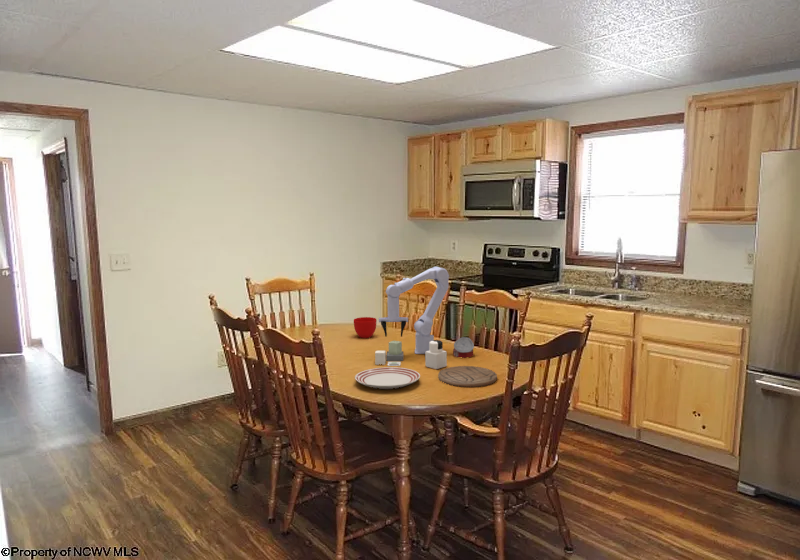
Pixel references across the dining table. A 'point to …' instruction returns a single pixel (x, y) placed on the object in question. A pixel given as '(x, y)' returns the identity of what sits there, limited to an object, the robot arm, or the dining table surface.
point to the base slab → (394, 357)
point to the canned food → (463, 347)
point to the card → (394, 363)
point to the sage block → (395, 347)
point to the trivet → (467, 376)
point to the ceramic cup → (365, 326)
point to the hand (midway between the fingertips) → (393, 336)
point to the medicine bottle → (436, 355)
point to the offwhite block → (380, 357)
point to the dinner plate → (387, 377)
